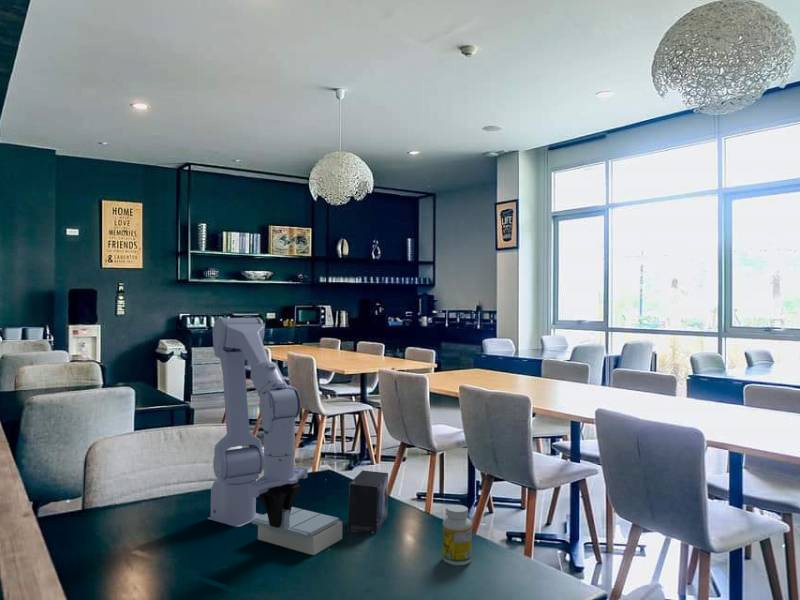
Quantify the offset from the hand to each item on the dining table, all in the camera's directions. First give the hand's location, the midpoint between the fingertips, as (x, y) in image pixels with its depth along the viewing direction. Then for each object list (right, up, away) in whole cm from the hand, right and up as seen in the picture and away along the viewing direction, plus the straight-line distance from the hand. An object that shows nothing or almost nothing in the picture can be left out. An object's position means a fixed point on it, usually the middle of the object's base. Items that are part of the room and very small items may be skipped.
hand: (278, 524), depth 112 cm
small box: (+16, -6, +14) cm, 22 cm away
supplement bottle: (+34, -6, -2) cm, 34 cm away
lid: (+2, -1, +4) cm, 5 cm away
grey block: (+3, -5, +5) cm, 8 cm away
